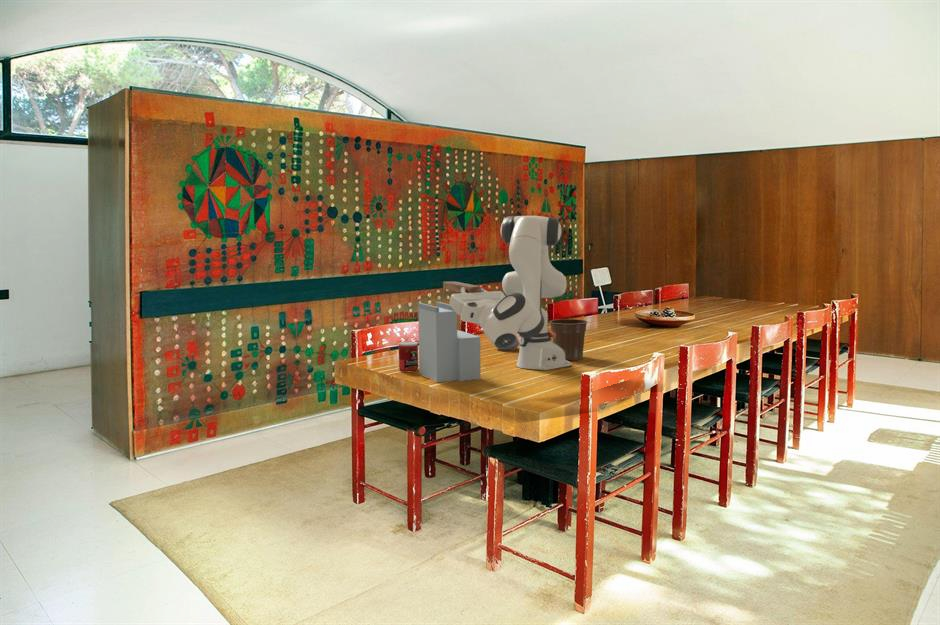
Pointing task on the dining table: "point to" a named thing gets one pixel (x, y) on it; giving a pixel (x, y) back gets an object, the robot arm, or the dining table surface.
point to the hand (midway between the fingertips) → (470, 288)
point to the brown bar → (457, 286)
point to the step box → (446, 346)
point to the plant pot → (569, 336)
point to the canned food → (408, 356)
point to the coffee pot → (511, 346)
